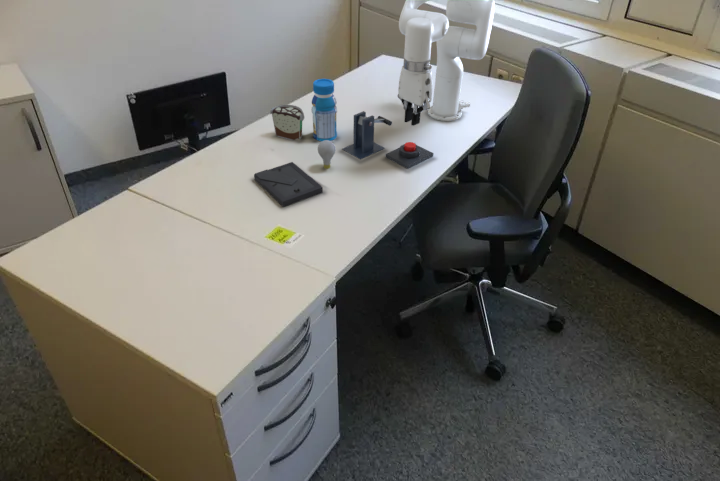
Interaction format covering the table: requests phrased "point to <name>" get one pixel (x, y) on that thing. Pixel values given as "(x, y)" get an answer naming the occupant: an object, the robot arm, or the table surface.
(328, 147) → the light bulb
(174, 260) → the table surface
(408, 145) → the stop button
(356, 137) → the switch bracket
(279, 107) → the food container
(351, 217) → the table surface
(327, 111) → the beverage bottle
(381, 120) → the switch lever
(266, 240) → the table surface
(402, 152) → the button housing
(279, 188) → the picture frame
